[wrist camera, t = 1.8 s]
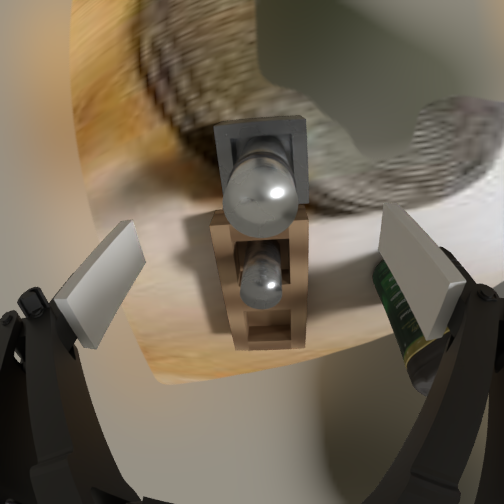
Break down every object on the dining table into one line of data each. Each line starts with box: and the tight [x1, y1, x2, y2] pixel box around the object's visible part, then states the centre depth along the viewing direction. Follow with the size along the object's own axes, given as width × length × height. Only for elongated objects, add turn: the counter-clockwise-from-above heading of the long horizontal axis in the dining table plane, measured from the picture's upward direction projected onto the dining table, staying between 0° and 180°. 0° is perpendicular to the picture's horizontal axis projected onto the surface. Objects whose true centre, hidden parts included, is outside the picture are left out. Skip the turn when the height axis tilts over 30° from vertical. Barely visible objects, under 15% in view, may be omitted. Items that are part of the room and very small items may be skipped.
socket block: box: [213, 115, 309, 204], centre depth 26 cm, size 8×8×4 cm
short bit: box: [240, 239, 282, 309], centre depth 30 cm, size 4×4×8 cm
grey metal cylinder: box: [223, 136, 298, 238], centre depth 22 cm, size 5×5×13 cm
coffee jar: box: [373, 260, 451, 396], centre depth 27 cm, size 10×8×19 cm
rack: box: [209, 205, 309, 350], centre depth 35 cm, size 20×10×4 cm, turn 6°
